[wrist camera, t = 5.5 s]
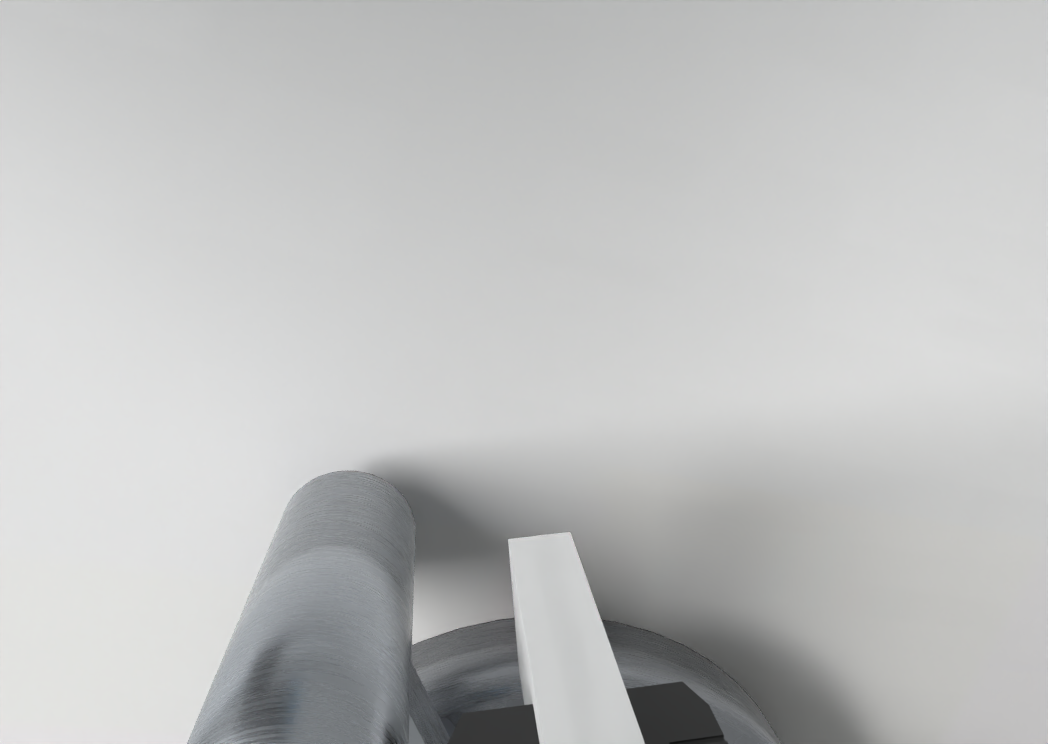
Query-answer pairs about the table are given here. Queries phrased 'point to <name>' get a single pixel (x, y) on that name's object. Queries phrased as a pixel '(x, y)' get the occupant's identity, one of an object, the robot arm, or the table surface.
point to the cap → (642, 658)
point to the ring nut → (327, 629)
